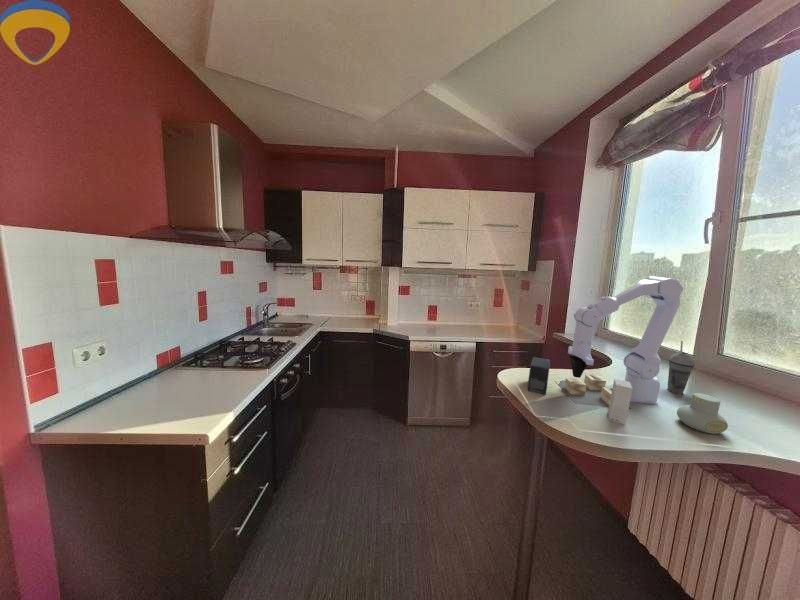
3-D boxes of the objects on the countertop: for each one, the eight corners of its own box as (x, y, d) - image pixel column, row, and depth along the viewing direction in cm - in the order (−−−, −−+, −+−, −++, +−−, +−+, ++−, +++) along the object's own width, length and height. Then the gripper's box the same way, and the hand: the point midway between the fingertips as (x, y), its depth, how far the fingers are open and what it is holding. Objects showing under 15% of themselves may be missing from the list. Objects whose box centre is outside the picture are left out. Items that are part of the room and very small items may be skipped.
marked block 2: (615, 398, 106) (617, 387, 105) (624, 406, 101) (626, 394, 100) (600, 397, 106) (602, 386, 105) (608, 404, 101) (610, 393, 100)
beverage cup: (686, 397, 111) (698, 346, 107) (661, 389, 116) (671, 340, 113) (689, 392, 116) (700, 342, 112) (664, 385, 121) (674, 337, 118)
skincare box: (625, 425, 89) (633, 388, 87) (608, 421, 92) (615, 384, 90) (623, 416, 95) (630, 381, 92) (607, 412, 97) (613, 377, 95)
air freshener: (702, 420, 95) (709, 391, 93) (731, 436, 87) (739, 405, 85) (669, 419, 95) (675, 390, 93) (695, 435, 86) (702, 403, 85)
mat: (600, 384, 118) (600, 383, 118) (631, 410, 99) (631, 408, 99) (552, 380, 120) (552, 379, 119) (574, 404, 101) (574, 403, 101)
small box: (529, 381, 118) (532, 356, 116) (547, 385, 115) (551, 359, 113) (526, 391, 109) (529, 364, 107) (546, 396, 106) (550, 368, 104)
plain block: (578, 389, 112) (579, 379, 111) (584, 395, 107) (586, 385, 106) (564, 387, 112) (565, 377, 112) (570, 393, 108) (571, 383, 107)
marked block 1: (597, 385, 116) (598, 375, 116) (604, 391, 111) (606, 380, 111) (583, 383, 117) (585, 373, 116) (590, 389, 112) (592, 379, 111)
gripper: (562, 334, 114) (557, 367, 116) (580, 346, 100) (574, 384, 102) (581, 336, 113) (576, 369, 116) (602, 348, 99) (596, 386, 101)
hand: (576, 376), depth 109 cm, fingers closed
